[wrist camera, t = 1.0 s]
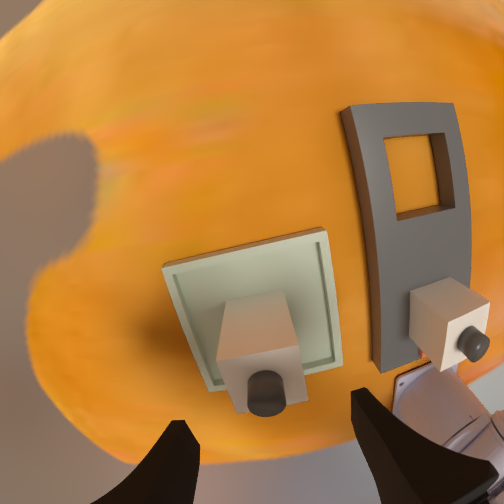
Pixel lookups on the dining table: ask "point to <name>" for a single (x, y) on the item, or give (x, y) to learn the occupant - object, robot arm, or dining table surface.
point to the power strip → (417, 241)
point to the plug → (260, 355)
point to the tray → (255, 282)
